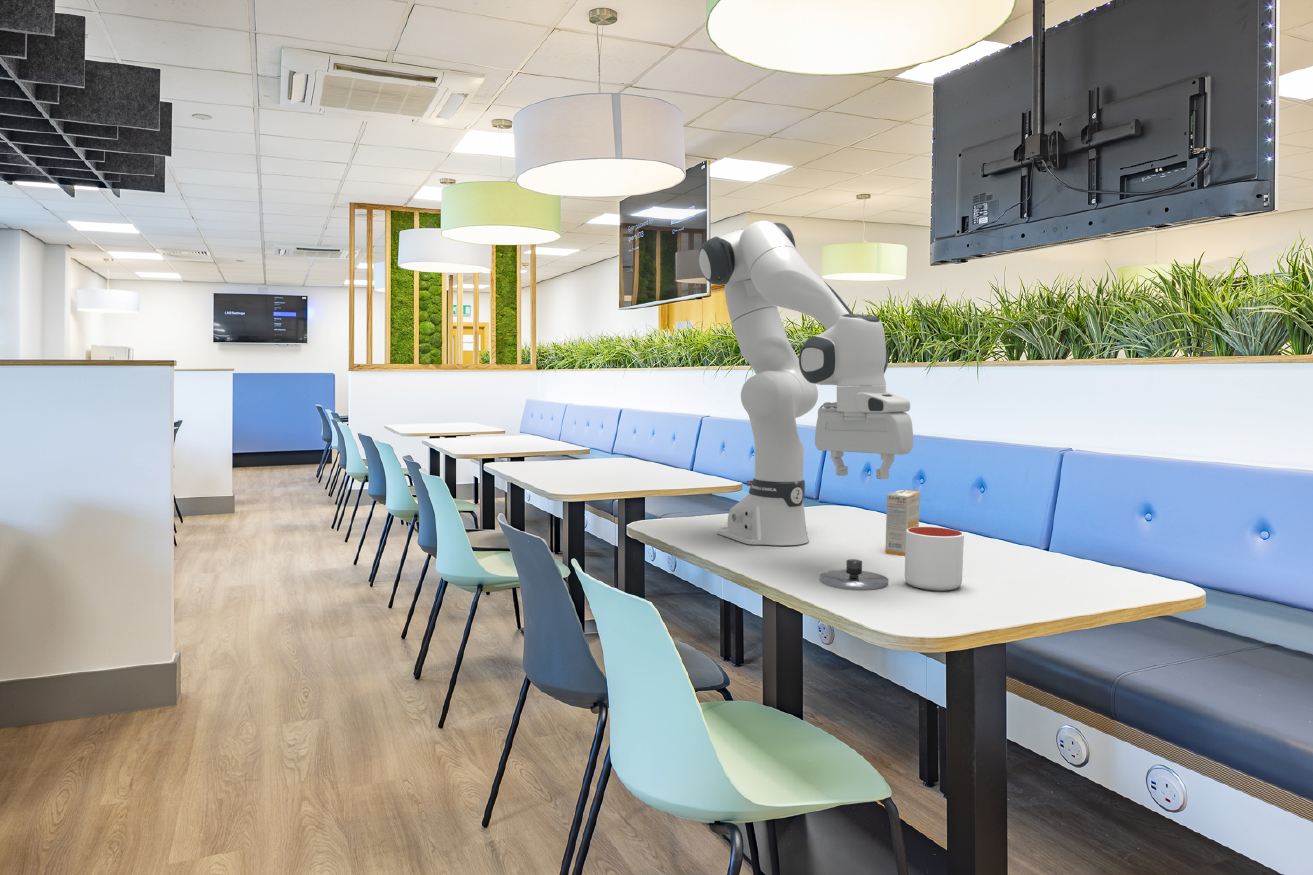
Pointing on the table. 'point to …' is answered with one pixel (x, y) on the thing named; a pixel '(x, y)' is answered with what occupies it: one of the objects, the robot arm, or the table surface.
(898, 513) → the supplement box
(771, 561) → the table surface
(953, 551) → the cup
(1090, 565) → the table surface
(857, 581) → the lid
